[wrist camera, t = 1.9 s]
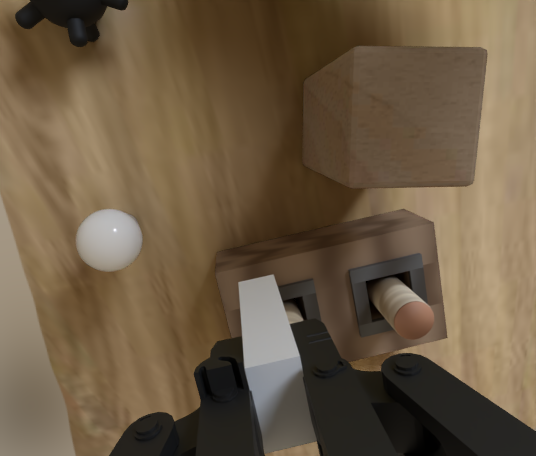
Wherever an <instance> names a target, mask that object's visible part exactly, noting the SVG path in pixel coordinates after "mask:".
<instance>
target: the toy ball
mask: <svg viewBox="0 0 536 456" xmlns="http://www.w3.org/2000/svg"><path fill="white" fill-rule="evenodd" d="M30 1H31V2H29V3H28V4H27V5H26V6H24V7H23V8H22V9H21V10H19V11H18V12H17V13H16V14H15V18H16V21H17V22H18V24H19V25H20V26H21V27H23V28H25V29H31V28H32V27H34V26H35V25H36V24H37V23H39V22H40V21H41V20H42V19H44V18H46V19H48V20H49V21H51V22H52V23H54V24H56V25H59V26H62V27H65V28H68V33H69V38H70V42H71V43H72V44H73V45H75V46H77V47H83V46H85V45H86V44H87V41H90V42H94V41H96V40H98V38H99V36H100V34H99V31H98V29H97V27H96V25H95V22H96V21H98V20H99V19H100V18H101V17H102V16H103V14H104V12H105V10H106V8H107V6H108V7H111V8H115V9H118V10H125V9H126V7H127V5H128V0H30Z"/></svg>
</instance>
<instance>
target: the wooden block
mask: <svg viewBox="0 0 536 456" xmlns="http://www.w3.org/2000/svg"><path fill="white" fill-rule="evenodd" d="M486 63H487V50H486V49H483V48H481V47H409V46H357V47H354V48H352V49H351V50H349V51H348V52H346V53H345V54H343V55H342V56H340V57H339V58H337V59H335V60H334V61H332V62H331V63H329V64H328V65H326V66H325V67H323V68H322V69H320V70H319V71H317V72H316V73H314V74H313V75H311V76H310V77H308V78H307V79H305V81H304V88H303V165H304V166H306V167H308V168H310V169H312V170H314V171H316V172H318V173H320V174H322V175H324V176H326V177H329V178H331V179H333V180H335V181H337V182H339V183H341V184H343V185H345V186H347V187H350V188H406V187H460V186H468V185H471V184H473V181H474V176H475V166H476V157H477V148H478V138H479V129H480V119H481V110H482V101H483V91H484V82H485V73H486Z"/></svg>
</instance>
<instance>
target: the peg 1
mask: <svg viewBox="0 0 536 456" xmlns="http://www.w3.org/2000/svg"><path fill="white" fill-rule="evenodd" d="M282 302H283V305H284V308H285V311H286V315H287V318H288V321H289V324H292V323H296V322H300V321H303V318H302V316H301V313H300V310H299V308H298V306H297V304H296V302H295V301H294V300H293V299H288V300H284V301H282Z"/></svg>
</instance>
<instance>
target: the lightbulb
mask: <svg viewBox="0 0 536 456" xmlns="http://www.w3.org/2000/svg"><path fill="white" fill-rule="evenodd" d="M142 244H143V236H142V231H141V229H140V226H139V225H138V221H137V219H136V218H135V217H134V216H133V215H131V214H127V213H125V212H123V211H120V210H116V209H103V210H99V211H96V212H94V213H92V214H90V215H89V216H87V217H86V218H85V219H84V220H83V221H82V223H81V224H80V226H79V228H78V230H77V233H76V248H77V251H78V254H79V255H80V257H81V258H82V260H83V261H84V262H85V263H86V264H87V265H89V266H90V267H92V268H94V269H96V270H99V271H105V272H113V271H118V270H121V269H124V268H126V267H128V266H129V265H130V264H132V263H133V262H134V261H135V260H136V258H137V257H138V255H139V254H140V251H141V249H142Z"/></svg>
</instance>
